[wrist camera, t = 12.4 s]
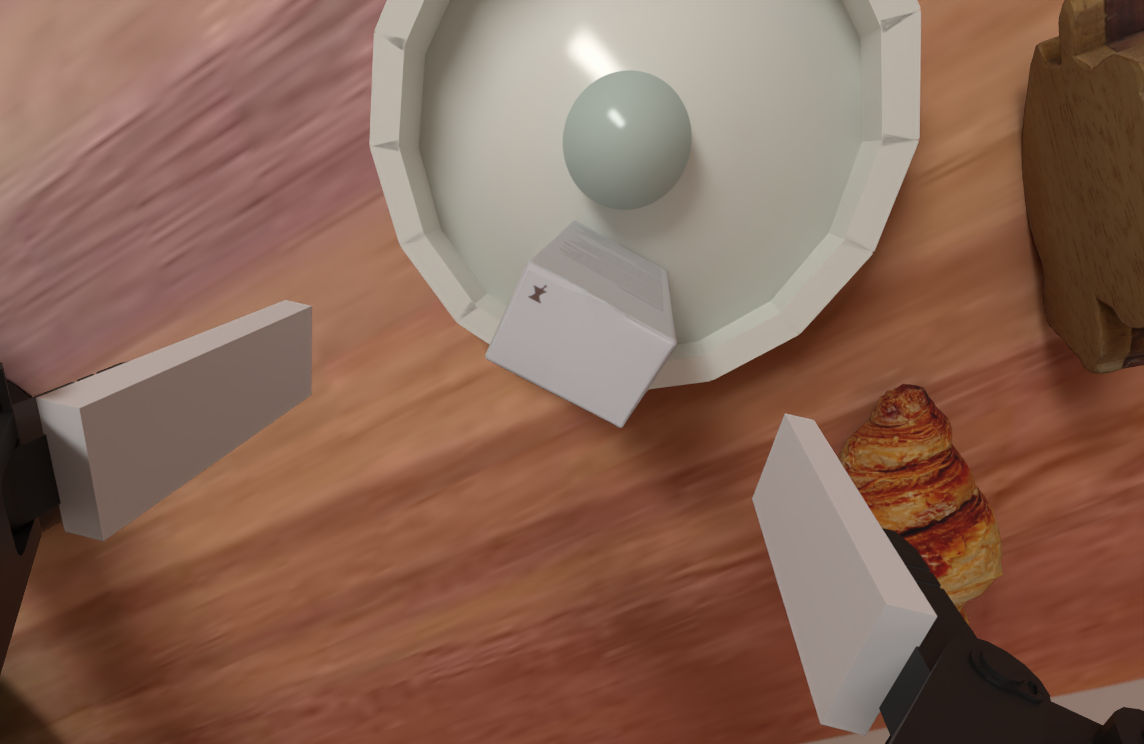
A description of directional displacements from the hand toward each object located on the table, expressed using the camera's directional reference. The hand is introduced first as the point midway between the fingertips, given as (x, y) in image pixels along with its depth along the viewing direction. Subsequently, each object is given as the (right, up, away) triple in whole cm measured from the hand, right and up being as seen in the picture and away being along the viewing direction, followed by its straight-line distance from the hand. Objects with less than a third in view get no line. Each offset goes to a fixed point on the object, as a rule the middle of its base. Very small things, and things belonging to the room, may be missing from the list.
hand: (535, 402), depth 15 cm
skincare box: (+3, +6, +16) cm, 17 cm away
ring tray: (+4, +13, +14) cm, 19 cm away
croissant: (+21, -9, +20) cm, 30 cm away
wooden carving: (+24, +10, +12) cm, 29 cm away
